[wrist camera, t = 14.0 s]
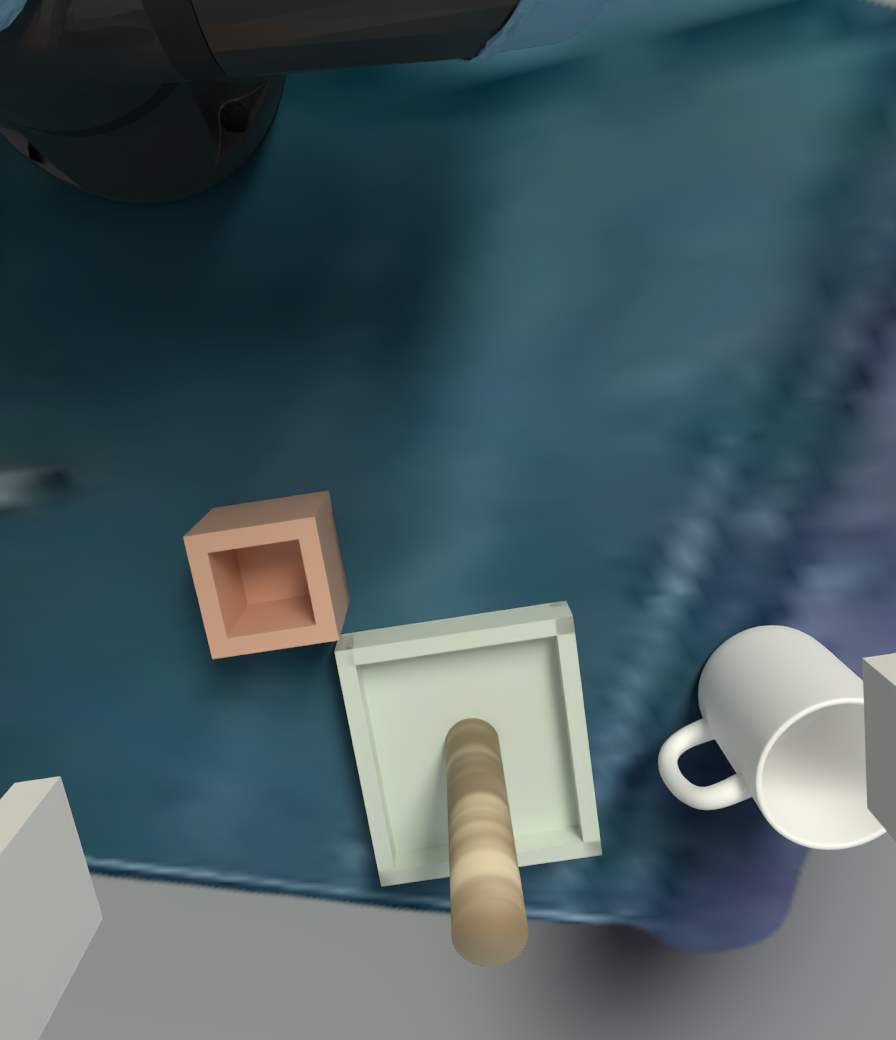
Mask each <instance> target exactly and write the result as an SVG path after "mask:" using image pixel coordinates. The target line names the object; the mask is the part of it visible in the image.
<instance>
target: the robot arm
mask: <svg viewBox="0 0 896 1040" xmlns="http://www.w3.org/2000/svg"><path fill="white" fill-rule="evenodd" d="M607 1H608V0H0V132H1V134H2V135H3V136H4V137H5V138H6V139H7V140H8V141H9V143H10V144H11V145H12V146H13V147H14V148H15V149H17V150H18V151H19V152H20V153H21V154H22V155H23V156H24V157H25V158H27V159H28V160H29V161H30V162H32V163H33V164H34V165H36V166H37V167H38V168H40V169H41V170H43V171H44V172H46V173H47V174H49V175H50V176H52V177H54V178H55V179H57V180H59V181H61V182H63V183H65V184H67V185H69V186H71V187H74V188H76V189H79V190H81V191H84V192H87V193H90V194H93V195H96V196H100V197H103V198H107V199H110V200H114V201H119V202H125V203H134V204H159V203H167V202H172V201H177V200H181V199H185V198H188V197H191V196H194V195H196V194H199V193H201V192H203V191H205V190H207V189H209V188H211V187H213V186H215V185H216V184H218V183H220V182H221V181H223V180H224V179H225V178H227V177H228V176H229V175H231V174H232V173H233V172H234V171H235V170H237V169H238V168H239V167H240V166H241V165H242V164H243V163H244V162H245V161H246V160H247V158H248V157H249V156H250V155H251V154H252V153H253V151H254V150H255V149H256V147H257V146H258V145H259V143H260V142H261V140H262V138H263V137H264V135H265V133H266V132H267V130H268V128H269V126H270V124H271V122H272V120H273V117H274V115H275V112H276V110H277V107H278V104H279V101H280V97H281V94H282V90H283V85H284V80H285V74H288V73H300V72H312V71H323V70H335V69H346V68H358V67H370V66H381V65H393V64H404V63H416V62H427V61H439V60H451V59H454V60H456V61H459V62H462V63H475V62H476V61H477V60H485V59H487V58H489V57H490V56H492V55H494V54H495V53H497V52H504V51H511V50H518V49H524V48H531V47H538V46H545V45H552V44H556V43H559V42H561V41H563V40H565V39H567V38H569V37H571V36H573V35H575V34H577V33H578V32H579V31H580V30H581V29H583V28H585V27H586V26H587V25H588V24H589V23H591V22H592V20H593V19H594V18H595V17H596V16H597V14H598V13H599V12H600V11H601V9H602V8H603V6H604V5H605V4H606V2H607ZM862 660H863V692H864V723H865V755H866V786H867V808H868V810H869V811H870V812H871V813H872V814H873V816H874V817H875V818H876V819H877V820H878V821H879V823H880V824H881V825H882V826H883V827H884V828H885V830H886V831H887V832H888V833H889V834H890V835H891V836H892V838H893V839H894V840H895V841H896V653H894V654H887V655H881V656H874V657H867V658H862ZM102 919H103V917H102V914H101V910H100V907H99V904H98V900H97V897H96V894H95V890H94V887H93V883H92V880H91V877H90V873H89V870H88V867H87V863H86V860H85V857H84V853H83V850H82V847H81V843H80V840H79V837H78V833H77V830H76V827H75V823H74V820H73V816H72V813H71V810H70V806H69V803H68V800H67V796H66V793H65V790H64V786H63V783H62V780H61V776H59V777H52V778H45V779H39V780H32V781H25V782H18V783H14V784H13V786H12V787H11V788H10V789H9V790H8V791H7V793H6V794H5V795H4V796H3V797H2V798H1V800H0V1040H39V1038H40V1036H41V1034H42V1032H43V1030H44V1028H45V1027H46V1025H47V1023H48V1021H49V1019H50V1017H51V1015H52V1013H53V1012H54V1009H55V1008H56V1006H57V1004H58V1002H59V1000H60V998H61V996H62V994H63V992H64V991H65V989H66V987H67V985H68V983H69V981H70V979H71V977H72V976H73V974H74V972H75V969H76V968H77V966H78V964H79V962H80V960H81V959H82V957H83V955H84V953H85V951H86V949H87V947H88V945H89V943H90V941H91V940H92V938H93V936H94V934H95V932H96V930H97V928H98V926H99V924H100V922H101V921H102Z"/></svg>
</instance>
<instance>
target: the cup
mask: <svg viewBox="0 0 896 1040" xmlns="http://www.w3.org/2000/svg"><path fill="white" fill-rule="evenodd" d="M698 701H699V707H700V711H701V714H702V717H703V718H702V719H700V720H698V721H695V722H693V723H691V724H689V725H687V726H685V727H683V728H681V729H680V730H678V731H677V732H675V733H674V734H672V735H671V736H670V737H669V738H668V739H667V740H666V741H665V742H664V744H663V745H662V747H661V750H660V752H659V756H658V766H659V771H660V775H661V777H662V779H663V781H664V783H665V784H666V786H667V787H668V789H669V790H670V791H671V792H672V793H673V795H674V796H676V797H677V798H678V799H679V800H680V801H682V802H683V803H685V804H687V805H689V806H691V807H693V808H696V809H701V810H714V809H720V808H724V807H727V806H730V805H733V804H736V803H738V802H741V801H743V800H745V799H748V798H750V797H752V798H753V799H754V801H755V802H756V804H757V806H758V807H759V809H760V810H761V812H762V813H763V815H764V817H765V818H766V820H767V821H768V822H769V824H770V825H771V826H772V827H773V828H774V829H775V830H776V831H777V832H779V833H780V834H781V835H783V836H784V837H785V838H787V839H789V840H791V841H793V842H795V843H797V844H800V845H803V846H806V847H810V848H815V849H823V850H835V849H836V850H837V849H845V848H850V847H855V846H858V845H861V844H864V843H867V842H869V841H871V840H873V839H875V838H877V837H879V836H880V835H882V834H884V833H885V832H887V831H886V830H885V828H884V827H883V826H882V825H881V824H880V823H879V821H878V820H877V819H876V818H875V817H874V816H873V814H872V813H871V812H870V811H869V810H868V808H867V786H866V755H865V723H864V692H863V681H862V680H861V679H860V678H859V677H858V676H857V675H856V674H854V673H853V672H852V671H851V670H850V669H849V668H848V667H847V666H845V665H844V664H843V663H842V662H841V661H840V660H839V659H838V658H836V657H835V656H834V655H833V654H832V653H831V652H830V651H829V650H827V649H826V648H825V647H824V646H823V645H822V644H820V643H819V642H818V641H816V640H815V639H814V638H812V637H811V636H809V635H807V634H805V633H803V632H801V631H799V630H796V629H793V628H790V627H785V626H774V625H769V626H759V627H754V628H750V629H747V630H744V631H742V632H740V633H738V634H736V635H734V636H732V637H731V638H729V639H728V640H726V641H725V642H724V643H722V644H721V645H720V646H719V647H718V648H717V649H716V650H715V651H714V653H713V654H712V655H711V656H710V658H709V659H708V661H707V663H706V664H705V667H704V669H703V671H702V674H701V677H700V681H699V687H698ZM711 740H716V742H717V743H718V745H719V747H720V748H721V750H722V751H723V753H724V754H725V756H726V758H727V759H728V761H729V762H730V764H731V765H732V767H733V768H734V770H735V772H736V773H737V774H735V775H733V776H731V777H729V778H727V779H725V780H723V781H720V782H718V783H716V784H713V785H710V786H706V787H699V786H696V785H693V784H692V783H690V782H689V781H688V780H687V779H686V778H685V777H684V776H683V775H682V774H681V772H680V770H679V768H678V765H677V761H678V758H679V757H680V755H681V754H682V753H683V752H685V751H686V750H688V749H690V748H692V747H694V746H696V745H699V744H701V743H704V742H708V741H711Z"/></svg>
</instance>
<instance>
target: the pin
mask: <svg viewBox="0 0 896 1040" xmlns="http://www.w3.org/2000/svg"><path fill="white" fill-rule="evenodd" d="M445 746H446V776H447V807H448V837H449V868H450V898H451V929H452V941H453V945H454V947H455V949H456V950H457V952H458V953H459V954H460V955H461V956H462V957H463V958H464V959H466V960H467V961H469V962H471V963H473V964H476V965H480V966H498V965H502V964H505V963H507V962H509V961H511V960H513V959H514V958H516V957H517V956H518V955H519V954H520V953H521V952H522V950H523V949H524V947H525V945H526V943H527V939H528V926H527V919H526V912H525V906H524V899H523V893H522V886H521V880H520V874H519V867H518V861H517V854H516V848H515V841H514V835H513V828H512V822H511V815H510V809H509V802H508V796H507V789H506V783H505V776H504V770H503V763H502V757H501V750H500V744H499V738H498V734H497V732H496V730H495V729H494V727H493V726H492V725H491V724H489V723H488V722H486V721H484V720H482V719H477V718H468V719H464V720H461V721H459V722H457V723H456V724H454V725H453V726H452V727H451V728H450V730H449V731H448V733H447V736H446V741H445Z"/></svg>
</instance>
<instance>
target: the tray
mask: <svg viewBox="0 0 896 1040" xmlns="http://www.w3.org/2000/svg"><path fill="white" fill-rule="evenodd" d="M335 657H336V662H337V667H338V672H339V677H340V682H341V687H342V692H343V697H344V702H345V707H346V712H347V717H348V722H349V727H350V732H351V737H352V742H353V747H354V752H355V757H356V762H357V767H358V772H359V777H360V782H361V787H362V792H363V797H364V802H365V807H366V812H367V817H368V822H369V827H370V832H371V838H372V843H373V848H374V853H375V858H376V863H377V868H378V873H379V878H380V883H381V887H382V886H389V885H396V884H403V883H410V882H417V881H424V880H430V879H437V878H444V877H450V868H449V837H448V807H447V776H446V746H445V741H446V736H447V733H448V731H449V730H450V728H451V727H452V726H453V725H454V724H456V723H457V722H459V721H461V720H464V719H468V718H477V719H482V720H484V721H486V722H488V723H489V724H491V725H492V726H493V727H494V729H495V730H496V732H497V734H498V738H499V744H500V750H501V757H502V763H503V770H504V776H505V783H506V789H507V796H508V802H509V809H510V815H511V822H512V828H513V835H514V841H515V848H516V854H517V861H518V867H521V866H528V865H535V864H542V863H549V862H556V861H563V860H570V859H577V858H584V857H591V856H598V855H602V850H601V842H600V834H599V826H598V818H597V809H596V801H595V793H594V785H593V777H592V769H591V760H590V752H589V744H588V736H587V728H586V720H585V711H584V703H583V695H582V687H581V679H580V671H579V662H578V654H577V646H576V638H575V630H574V622H573V615H572V613H571V611H570V609H569V606H568V604H567V602H566V601H561V602H555V603H548V604H541V605H535V606H528V607H521V608H515V609H508V610H501V611H494V612H488V613H481V614H474V615H468V616H461V617H454V618H448V619H441V620H434V621H428V622H421V623H414V624H408V625H401V626H394V627H387V628H381V629H374V630H367V631H361V632H354V633H347V634H341V635H340V639H339V640H338V641H337V644H336V648H335Z"/></svg>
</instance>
